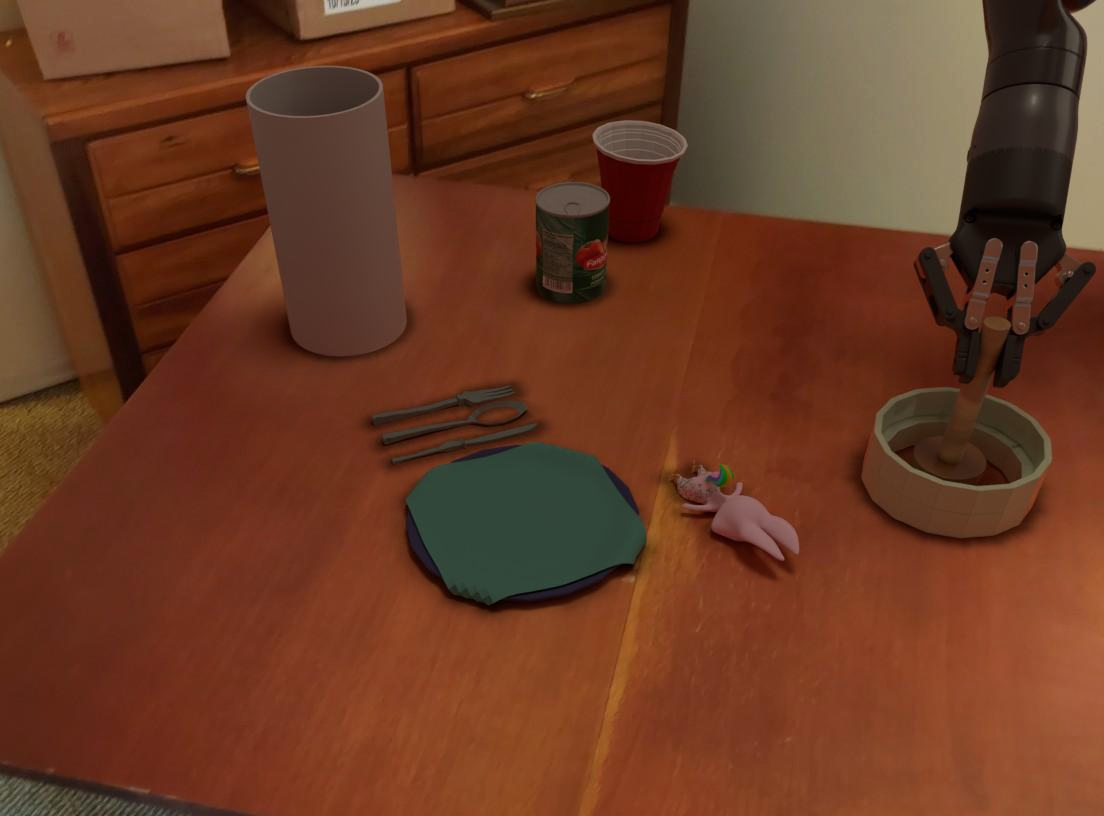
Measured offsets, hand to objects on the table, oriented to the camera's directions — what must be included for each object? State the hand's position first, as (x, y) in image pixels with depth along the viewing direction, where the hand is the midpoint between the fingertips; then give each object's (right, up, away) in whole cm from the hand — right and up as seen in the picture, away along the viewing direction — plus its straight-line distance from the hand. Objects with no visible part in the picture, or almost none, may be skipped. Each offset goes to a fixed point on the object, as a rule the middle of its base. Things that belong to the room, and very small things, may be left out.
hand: (983, 382), depth 83 cm
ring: (+1, -7, +11) cm, 13 cm away
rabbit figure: (-18, -11, +8) cm, 23 cm away
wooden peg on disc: (+1, -5, +9) cm, 10 cm away
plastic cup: (-22, +27, +45) cm, 57 cm away
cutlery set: (-38, -8, +12) cm, 40 cm away
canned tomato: (-30, +18, +36) cm, 50 cm away
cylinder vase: (-54, +12, +32) cm, 64 cm away
